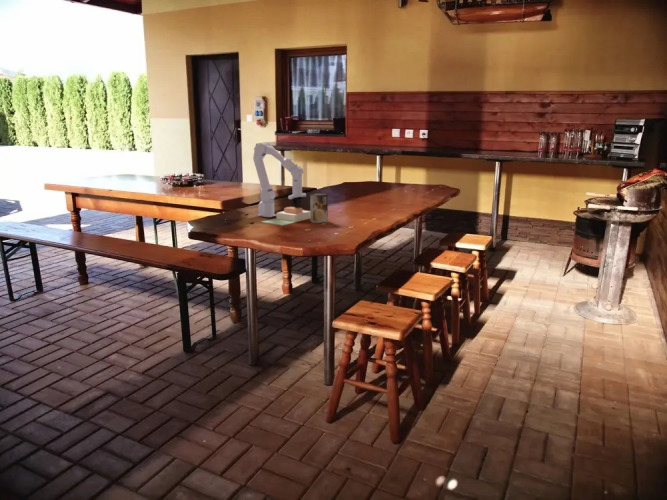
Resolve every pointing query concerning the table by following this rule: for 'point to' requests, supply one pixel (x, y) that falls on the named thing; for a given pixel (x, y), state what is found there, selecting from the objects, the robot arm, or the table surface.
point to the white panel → (293, 216)
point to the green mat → (279, 222)
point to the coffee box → (318, 208)
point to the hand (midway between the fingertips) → (297, 209)
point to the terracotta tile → (293, 210)
